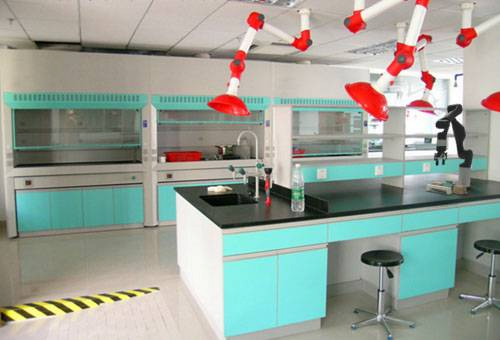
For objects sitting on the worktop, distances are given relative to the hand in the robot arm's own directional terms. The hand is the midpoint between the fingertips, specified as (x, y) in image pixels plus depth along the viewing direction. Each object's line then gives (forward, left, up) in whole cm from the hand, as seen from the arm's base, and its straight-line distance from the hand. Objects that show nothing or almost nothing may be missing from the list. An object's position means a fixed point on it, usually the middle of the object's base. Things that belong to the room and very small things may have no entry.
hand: (440, 165), depth 343 cm
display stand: (-11, +2, -22) cm, 25 cm away
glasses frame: (0, 0, -22) cm, 22 cm away
